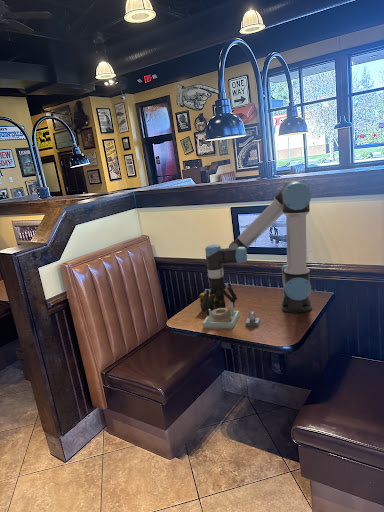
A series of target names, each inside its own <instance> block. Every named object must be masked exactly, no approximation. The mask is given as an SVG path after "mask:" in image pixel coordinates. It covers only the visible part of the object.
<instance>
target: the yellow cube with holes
mask: <svg viewBox="0 0 384 512" xmlns="http://www.w3.org/2000/svg"><path fill="white" fill-rule="evenodd" d="M204 294H205V293H204V292H201V293H200V294H198V295H199V299H200V300H199V302H200V310H201V312H204V313H206V312H205V310H204V309H202V308H201V306H202V302H203V298H204ZM210 294H211V291H210V293H209V297H210ZM213 295H214V294H213ZM209 297H208V299H209ZM225 300H226V299H225V295H224V294H223V293H222V294H221V295H218V296H216V297H215V298H214V300H213V302H212V304H211V306H210V308H209V309H211V311H213V310H215V309H218V308H227V306H226V301H225Z"/></svg>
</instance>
